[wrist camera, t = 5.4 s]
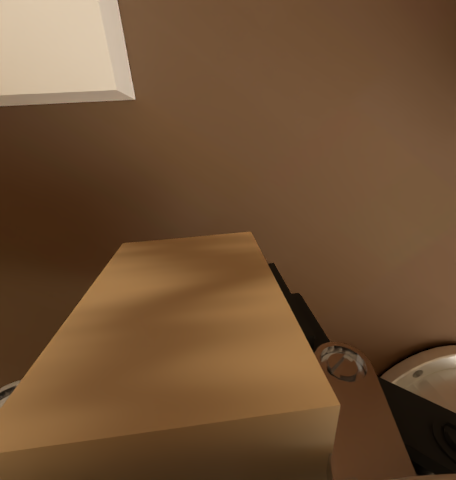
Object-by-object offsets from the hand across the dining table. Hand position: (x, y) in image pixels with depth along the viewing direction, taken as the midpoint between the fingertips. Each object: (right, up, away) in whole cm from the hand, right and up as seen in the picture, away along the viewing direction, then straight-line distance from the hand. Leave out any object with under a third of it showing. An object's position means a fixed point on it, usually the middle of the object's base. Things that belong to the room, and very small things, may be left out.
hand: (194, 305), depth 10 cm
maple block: (0, 0, +1) cm, 1 cm away
